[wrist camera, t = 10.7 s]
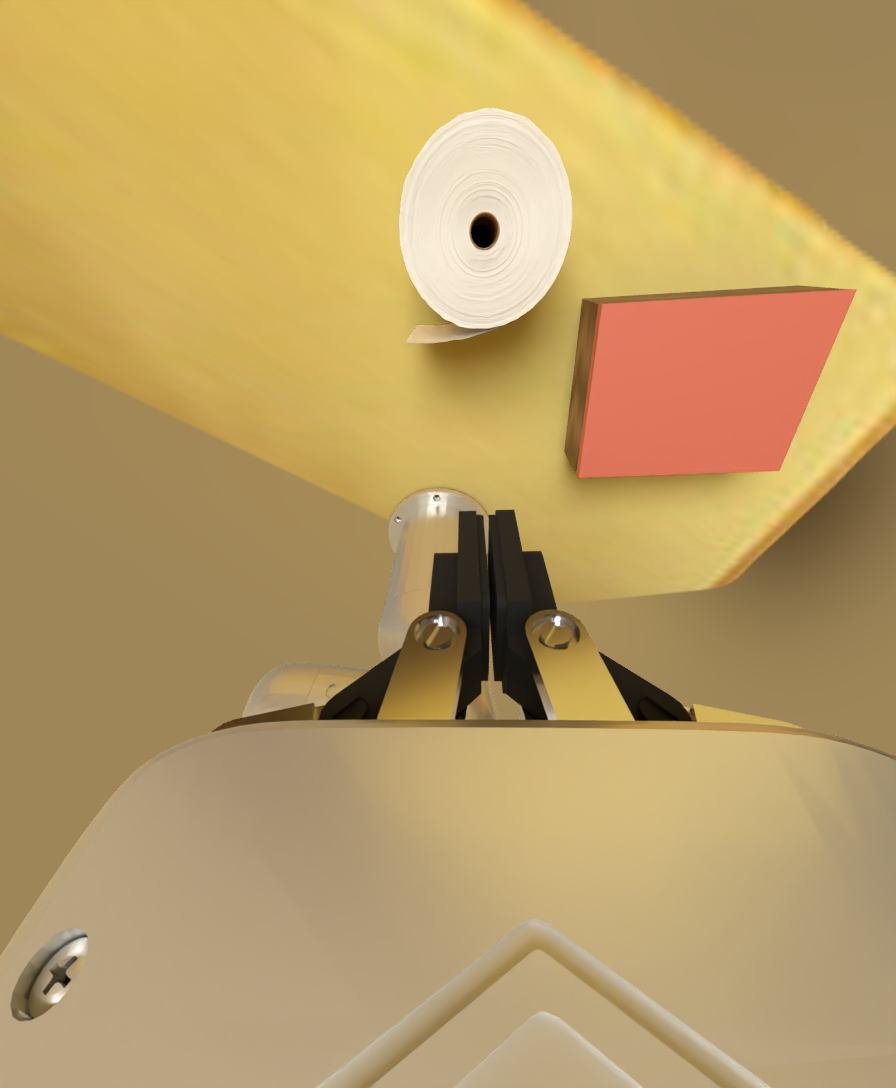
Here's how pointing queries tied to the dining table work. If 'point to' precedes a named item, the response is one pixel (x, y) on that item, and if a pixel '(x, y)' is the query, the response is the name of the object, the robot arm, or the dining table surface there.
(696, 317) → the lid
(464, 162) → the toilet tissue
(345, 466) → the dining table surface
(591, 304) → the walnut box
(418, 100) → the dining table surface
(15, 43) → the dining table surface
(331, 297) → the dining table surface
